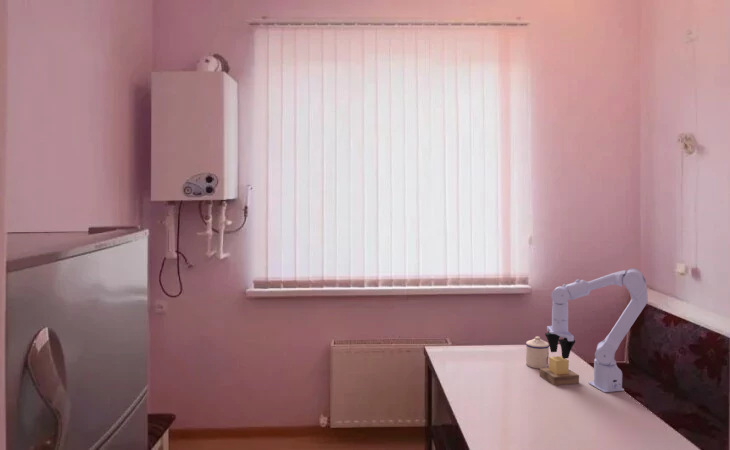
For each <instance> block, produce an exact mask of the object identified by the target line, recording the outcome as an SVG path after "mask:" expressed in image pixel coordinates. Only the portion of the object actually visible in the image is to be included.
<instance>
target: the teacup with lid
mask: <svg viewBox="0 0 730 450" xmlns="http://www.w3.org/2000/svg"><path fill="white" fill-rule="evenodd" d="M525 346H526V349H525V364H526V366H527V367H529V368H532V369H540V368H549V357H550V355H549V353H550V352H549V351H550V346H549V342H548V341H546V340H543V339H541V337H540V336H534V338H533V339H530V340H527V341H526V342H525Z"/></svg>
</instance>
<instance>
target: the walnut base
mask: <svg viewBox="0 0 730 450" xmlns="http://www.w3.org/2000/svg"><path fill="white" fill-rule="evenodd" d="M539 377H541V378H542V379H544V380H545V381H547V382H549V384H551V385H552V386H562V385H573V384H580V375H579V374H578V373H576V372H574V371H573V370H570V369H569V371H568V374H557V375H556V374H555V373H553V372H551V371H550V370H549V367H546V368H539Z"/></svg>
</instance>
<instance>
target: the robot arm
mask: <svg viewBox="0 0 730 450" xmlns="http://www.w3.org/2000/svg"><path fill="white" fill-rule="evenodd" d="M612 285H615V286H618V287H623V286H624V287H625V288H626V290H627V291H628V292H629V295H630V298H631V299H630V301H629V302H628V304H627V306H626V307H625V309H623V311H622V313H621V315H620V316H619V318H618V320H617V321H616V322H615V324H614V326H613V327H612V328H611V331H610V332H609V333H608V334H607V335H606V337H605V338H604V339H603V340H602V341H600V342H598V343H597V345H596V350H595V352H594V357H595V358H594V359H593V360H594V362H593V381H588V385H591V386H592V387H595V388H597V389H598V390H599V391H602V392H603V393H613V392H622V391H625V389H624V388H623V371H622V370H621V368H619V367H618V365H617V361H616V359H615V354H616V351H617V350H618V349H619V347H620V344H621V343H622V341H623V340H624V339H625V337H626V335H627V333H629V331H630V329H631V327H633V325H634V323H635V321H636V320H637V318H638V317H639V316H640V314H641V313H642V311H643V310H644V308H645V307H646V305H647V304H648V302H649V301H648V300H649V299H648V290H647V289H648V288H647V281H646V278H645V276H644V273H643V272H642V271H641V270H640V269H638V268H628V269H627V270H625V269H623V270H619V271H615V272H612V273H609V274H606V275H603V276H601V277H598V278H595V279H592V280H588V281H587V280H585V279H581V280H580V278H578V279H575V281H573V282H571V283H568V284H566V283H564V284H562V286H560V285H559V286H557V287H555V289H553V290H552V292H551V300H552V302H551V303H552V306H551V310H552V311H551V325H547V326H546V331H547V332H545V333H544V336H545V338H546V339H547V343H548V344H549V351H550V352H551V353H558V347H559V345H560V349H561V356H562V358H563V359H569V357H570V353H571V351H572V348H573V346H574V345H575V343H576V340H575V339H574V338H575V336H574V335H573V334H572V333H571V332H570V331H569V300H570V301H573V300H575V299H579V298H582V297H585V296H589V295H590V293H591V291H593V290H597V289H601V288H604V287H608V286H612ZM560 337H561V338H560Z"/></svg>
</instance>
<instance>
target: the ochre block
mask: <svg viewBox="0 0 730 450" xmlns="http://www.w3.org/2000/svg"><path fill="white" fill-rule="evenodd" d="M569 363H570V361H569V359H568V358H565V359H563V358H562V355H560V356H549V360H548V368H549V370H550V371H551V372H553V373H555V374H556V375H557V374H568V371H569V370H570V369H569V366H570V364H569Z"/></svg>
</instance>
